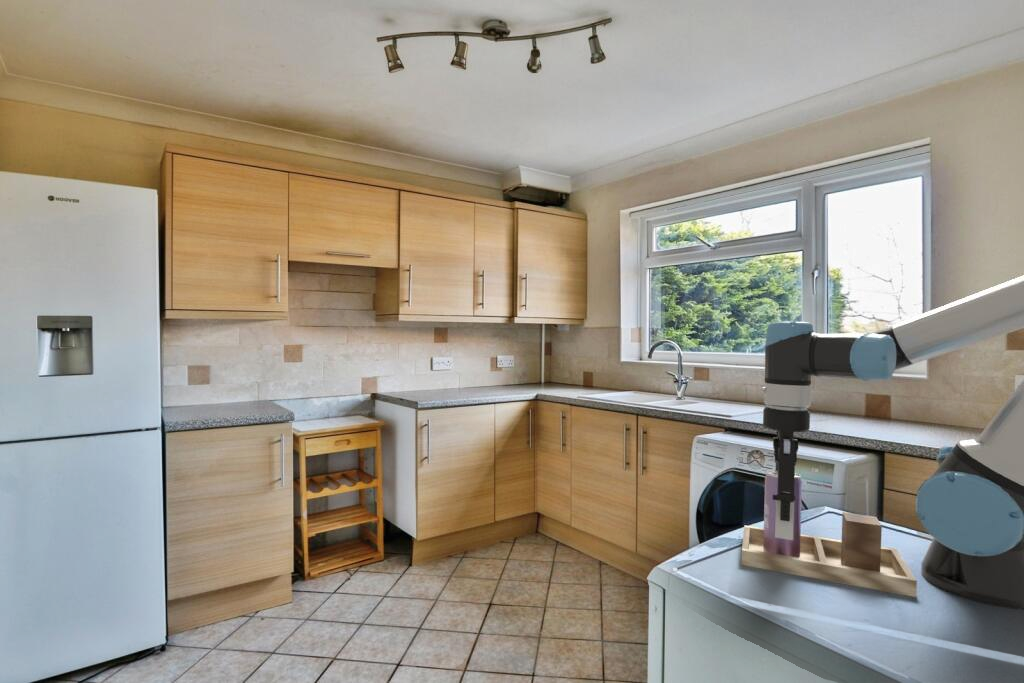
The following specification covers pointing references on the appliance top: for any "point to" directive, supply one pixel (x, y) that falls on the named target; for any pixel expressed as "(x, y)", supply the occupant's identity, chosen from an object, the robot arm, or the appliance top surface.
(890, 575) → the rack
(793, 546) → the beverage can
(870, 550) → the walnut block
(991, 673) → the appliance top surface
